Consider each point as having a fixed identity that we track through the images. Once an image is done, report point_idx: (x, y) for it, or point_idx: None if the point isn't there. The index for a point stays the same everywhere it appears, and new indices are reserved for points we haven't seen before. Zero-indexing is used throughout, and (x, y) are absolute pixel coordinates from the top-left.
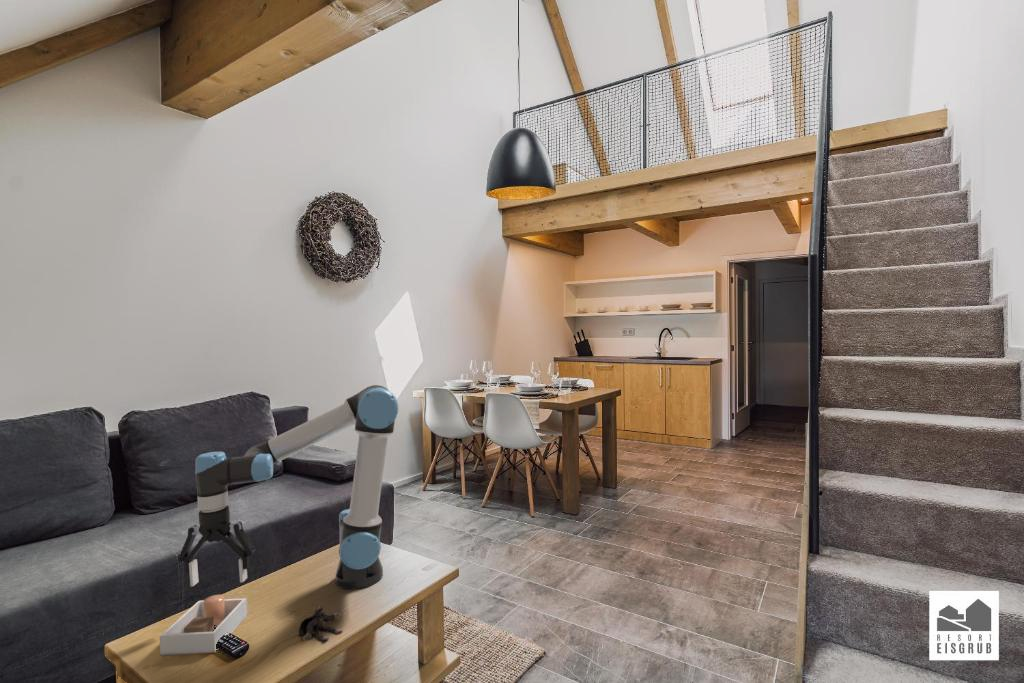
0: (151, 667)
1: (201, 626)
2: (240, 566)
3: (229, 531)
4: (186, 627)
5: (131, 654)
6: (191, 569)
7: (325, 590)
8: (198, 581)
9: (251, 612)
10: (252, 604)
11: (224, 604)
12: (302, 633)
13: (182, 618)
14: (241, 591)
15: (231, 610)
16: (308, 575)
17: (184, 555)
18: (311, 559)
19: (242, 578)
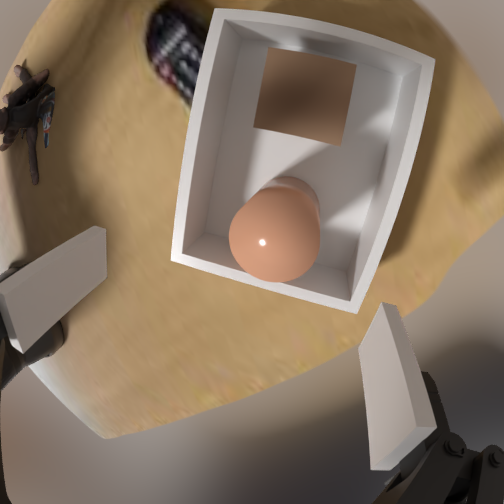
0: (409, 18)
1: (280, 52)
2: (34, 267)
3: None
4: (346, 65)
5: (491, 126)
6: (410, 383)
7: None
8: (359, 349)
9: None
10: (202, 300)
11: None
12: (44, 87)
13: (394, 180)
14: (258, 381)
15: None
16: (122, 376)
17: (473, 492)
18: (148, 428)
19: (81, 233)
